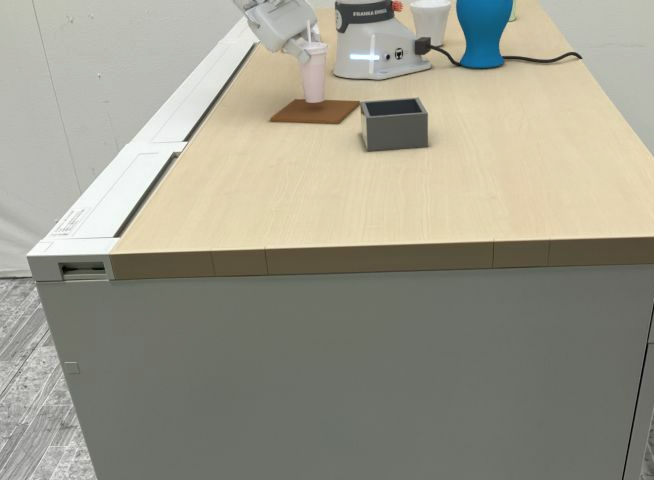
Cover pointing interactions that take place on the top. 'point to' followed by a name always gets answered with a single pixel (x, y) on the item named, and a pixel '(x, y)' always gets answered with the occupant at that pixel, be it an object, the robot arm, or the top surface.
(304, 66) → the smoothie
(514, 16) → the candle
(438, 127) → the top surface
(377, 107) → the holder
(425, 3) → the cup
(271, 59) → the top surface
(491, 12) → the vase
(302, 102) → the coaster
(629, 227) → the top surface
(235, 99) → the top surface
